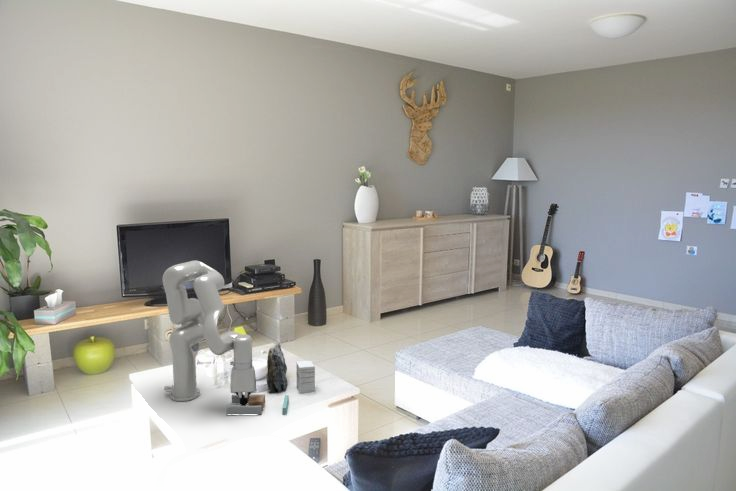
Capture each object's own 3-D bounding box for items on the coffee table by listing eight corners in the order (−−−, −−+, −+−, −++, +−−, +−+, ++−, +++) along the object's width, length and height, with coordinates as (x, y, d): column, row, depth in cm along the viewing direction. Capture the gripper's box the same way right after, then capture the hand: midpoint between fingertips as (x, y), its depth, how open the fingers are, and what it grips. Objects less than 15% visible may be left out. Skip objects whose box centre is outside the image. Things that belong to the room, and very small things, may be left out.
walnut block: (248, 411, 217) (248, 401, 216) (250, 405, 223) (250, 395, 222) (262, 411, 217) (262, 401, 216) (264, 405, 223) (264, 395, 222)
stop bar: (282, 414, 215) (282, 408, 214) (285, 401, 226) (285, 395, 226) (286, 414, 215) (285, 408, 214) (288, 401, 227) (288, 395, 226)
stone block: (285, 393, 234) (285, 351, 231) (265, 393, 234) (265, 351, 231) (289, 377, 252) (289, 338, 249) (271, 377, 252) (271, 338, 249)
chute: (226, 415, 213) (226, 407, 213) (232, 402, 225) (232, 394, 224) (261, 415, 214) (261, 407, 214) (264, 401, 226) (264, 394, 225)
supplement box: (296, 387, 241) (296, 361, 239) (311, 385, 243) (311, 360, 241) (299, 394, 234) (299, 367, 232) (315, 392, 237) (315, 365, 235)
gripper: (223, 368, 212) (224, 409, 215) (259, 367, 213) (260, 409, 216) (226, 361, 220) (227, 401, 222) (262, 361, 220) (262, 401, 223)
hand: (243, 405), depth 219 cm, fingers closed
